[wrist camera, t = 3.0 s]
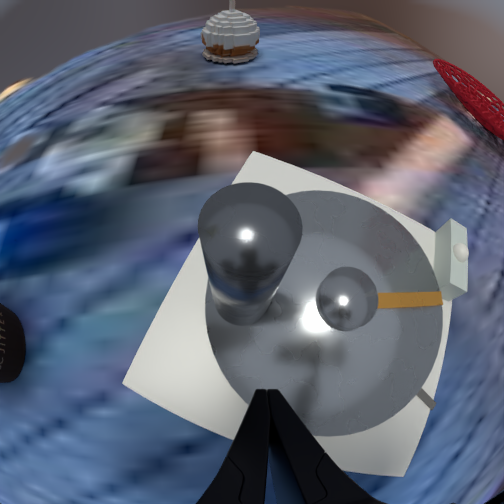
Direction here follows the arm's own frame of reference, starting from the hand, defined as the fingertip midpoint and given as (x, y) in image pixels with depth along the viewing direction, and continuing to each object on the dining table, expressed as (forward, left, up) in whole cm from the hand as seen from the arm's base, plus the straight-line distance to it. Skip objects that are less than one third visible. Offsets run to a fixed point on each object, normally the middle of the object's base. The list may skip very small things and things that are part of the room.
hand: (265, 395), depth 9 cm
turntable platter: (+6, -3, -6) cm, 9 cm away
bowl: (+58, -28, -7) cm, 65 cm away
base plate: (+6, -3, -7) cm, 10 cm away
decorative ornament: (+36, +19, -7) cm, 42 cm away
